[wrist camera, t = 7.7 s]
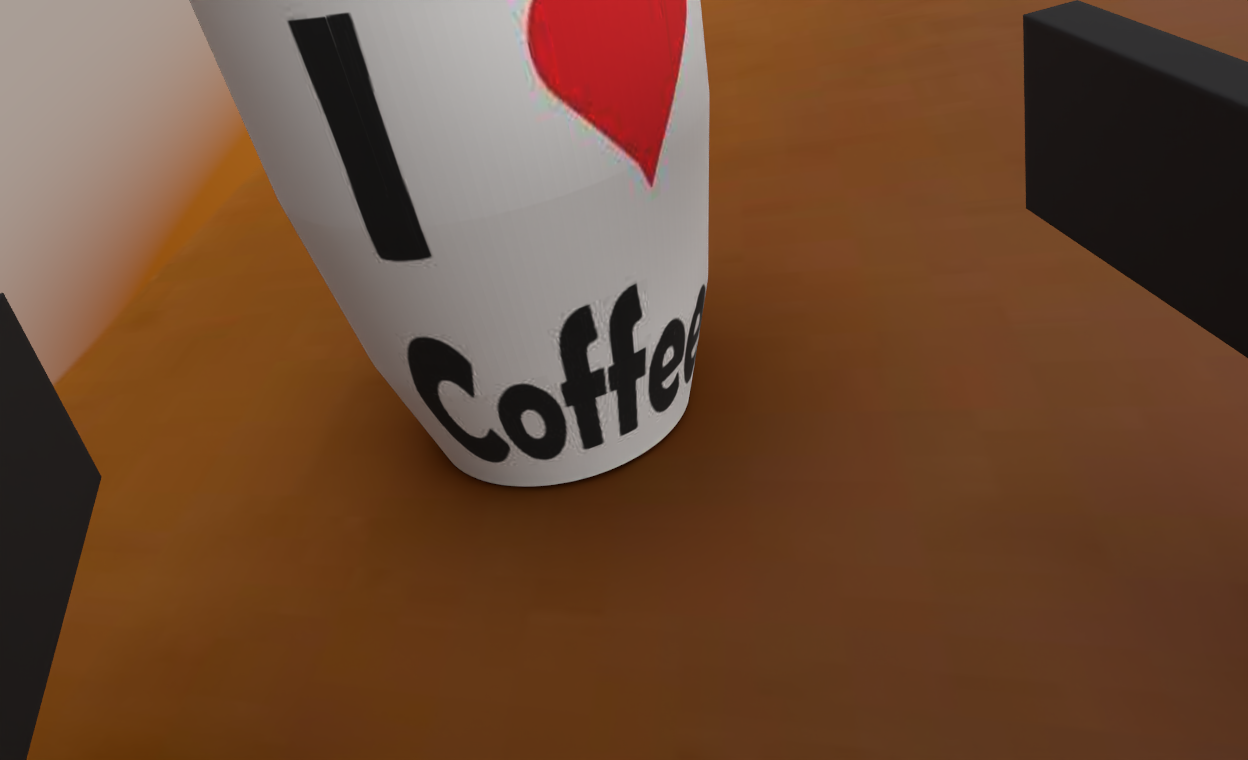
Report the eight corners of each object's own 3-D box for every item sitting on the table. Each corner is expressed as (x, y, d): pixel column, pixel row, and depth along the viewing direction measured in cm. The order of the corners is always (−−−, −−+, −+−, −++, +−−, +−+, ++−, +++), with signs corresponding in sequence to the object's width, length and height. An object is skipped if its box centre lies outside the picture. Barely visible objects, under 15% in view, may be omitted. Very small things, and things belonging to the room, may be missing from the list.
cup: (384, 598, 20) (144, -4, 14) (353, 373, 26) (182, -90, 21) (835, 451, 21) (762, -161, 15) (692, 271, 27) (608, -195, 22)
